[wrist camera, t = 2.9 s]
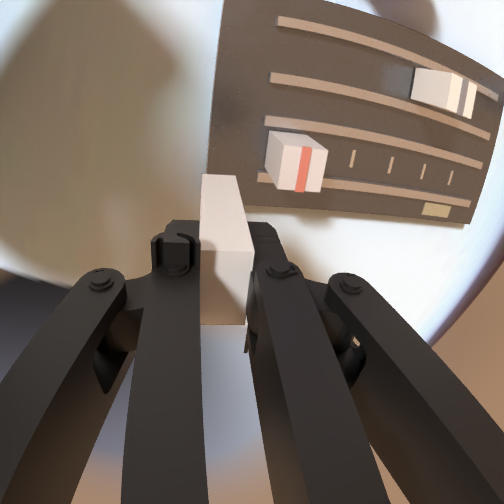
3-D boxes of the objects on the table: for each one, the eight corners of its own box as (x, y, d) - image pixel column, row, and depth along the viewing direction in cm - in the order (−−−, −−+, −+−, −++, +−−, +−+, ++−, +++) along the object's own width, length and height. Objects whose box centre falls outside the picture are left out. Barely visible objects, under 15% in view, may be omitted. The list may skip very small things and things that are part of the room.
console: (204, 194, 28) (204, 206, 26) (224, -10, 19) (226, -18, 16) (460, 216, 33) (472, 226, 31) (495, 78, 24) (511, 82, 22)
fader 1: (264, 167, 25) (277, 190, 21) (269, 129, 23) (284, 144, 19) (300, 170, 26) (320, 193, 21) (306, 134, 24) (329, 150, 20)
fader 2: (410, 99, 23) (447, 110, 19) (416, 67, 21) (453, 72, 17) (435, 107, 23) (471, 120, 19) (440, 77, 22) (478, 85, 18)
